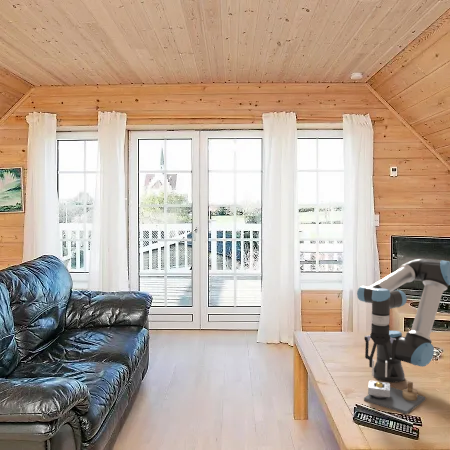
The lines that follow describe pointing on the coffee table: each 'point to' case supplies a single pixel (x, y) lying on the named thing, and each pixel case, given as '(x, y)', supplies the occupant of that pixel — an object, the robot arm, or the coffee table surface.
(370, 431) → the coffee table surface
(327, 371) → the coffee table surface
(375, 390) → the square hole frame
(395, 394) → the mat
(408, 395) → the stand
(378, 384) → the cylinder
